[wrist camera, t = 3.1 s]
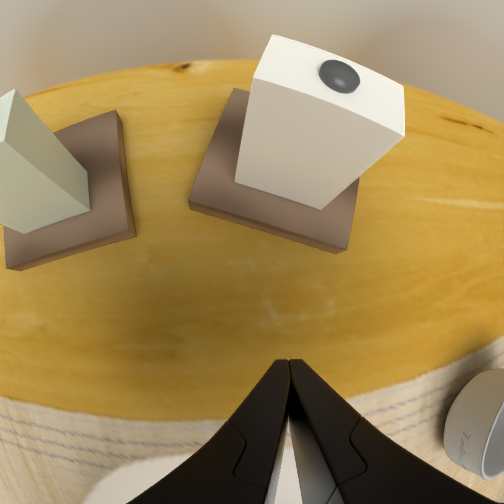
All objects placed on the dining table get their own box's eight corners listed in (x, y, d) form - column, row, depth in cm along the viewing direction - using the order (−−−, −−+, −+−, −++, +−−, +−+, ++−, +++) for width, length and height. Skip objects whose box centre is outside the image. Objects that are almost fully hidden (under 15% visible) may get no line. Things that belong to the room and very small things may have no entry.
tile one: (320, 209, 19) (408, 133, 9) (234, 182, 19) (254, 72, 9) (328, 171, 20) (406, 82, 10) (246, 144, 19) (273, 29, 9)
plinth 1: (136, 236, 20) (128, 229, 18) (20, 271, 18) (6, 268, 16) (122, 123, 21) (116, 109, 19) (18, 163, 19) (7, 155, 17)
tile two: (90, 210, 17) (0, 137, 7) (24, 233, 16) (-74, 190, 6) (87, 171, 18) (12, 84, 7) (23, 196, 17) (-63, 138, 7)
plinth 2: (335, 254, 21) (346, 249, 19) (190, 209, 20) (187, 200, 18) (354, 144, 23) (364, 132, 21) (232, 102, 22) (233, 87, 20)
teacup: (413, 431, 20) (469, 461, 12) (474, 341, 22) (534, 345, 14) (457, 474, 19) (499, 496, 11) (506, 402, 21) (551, 412, 13)
